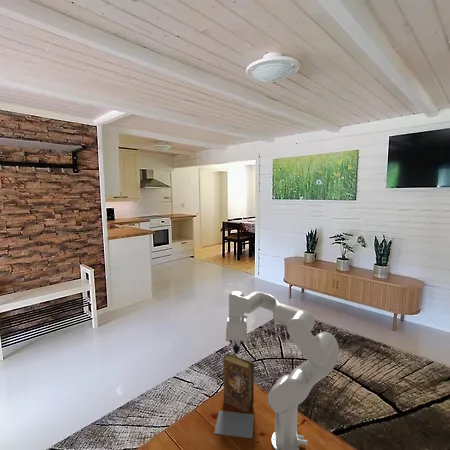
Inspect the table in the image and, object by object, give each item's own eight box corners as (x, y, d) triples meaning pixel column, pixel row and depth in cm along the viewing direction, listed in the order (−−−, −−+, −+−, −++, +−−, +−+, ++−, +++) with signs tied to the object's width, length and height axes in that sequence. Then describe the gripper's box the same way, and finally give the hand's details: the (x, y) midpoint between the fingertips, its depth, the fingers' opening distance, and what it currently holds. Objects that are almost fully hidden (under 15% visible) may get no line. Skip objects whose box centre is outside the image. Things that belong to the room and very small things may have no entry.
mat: (253, 415, 143) (253, 414, 143) (252, 438, 130) (252, 437, 129) (219, 411, 146) (219, 410, 146) (214, 433, 132) (214, 433, 132)
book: (222, 401, 153) (222, 358, 150) (227, 395, 158) (227, 353, 155) (248, 413, 144) (249, 368, 142) (253, 406, 149) (254, 362, 146)
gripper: (252, 314, 139) (251, 349, 141) (222, 312, 141) (222, 347, 143) (251, 321, 131) (251, 358, 133) (220, 319, 134) (220, 355, 136)
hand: (236, 352), depth 138 cm, fingers closed
